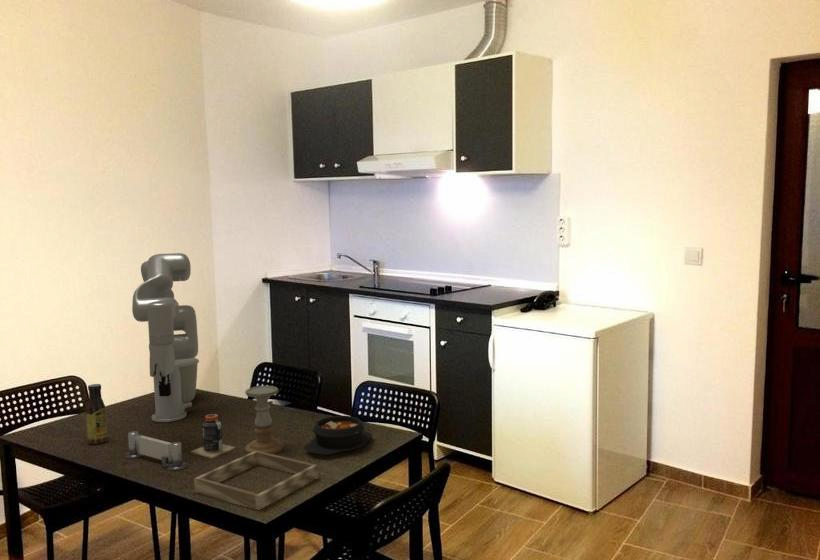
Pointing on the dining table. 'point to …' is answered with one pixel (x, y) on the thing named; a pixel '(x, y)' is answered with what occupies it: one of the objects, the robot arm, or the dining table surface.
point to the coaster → (213, 454)
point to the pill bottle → (212, 433)
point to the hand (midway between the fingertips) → (165, 395)
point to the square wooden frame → (215, 489)
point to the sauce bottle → (96, 416)
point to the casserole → (338, 435)
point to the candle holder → (263, 421)
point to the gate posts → (175, 452)
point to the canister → (187, 378)
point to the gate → (153, 447)
